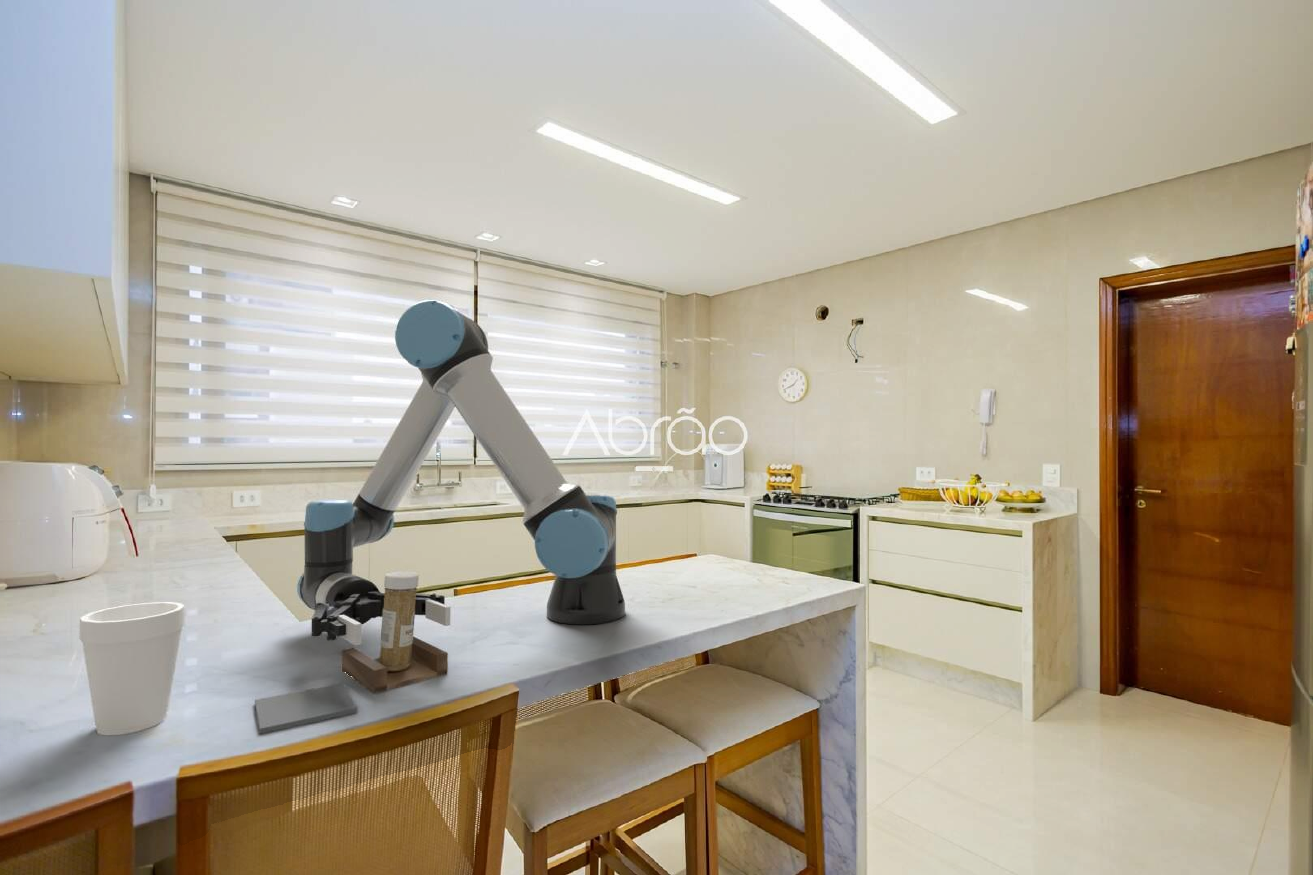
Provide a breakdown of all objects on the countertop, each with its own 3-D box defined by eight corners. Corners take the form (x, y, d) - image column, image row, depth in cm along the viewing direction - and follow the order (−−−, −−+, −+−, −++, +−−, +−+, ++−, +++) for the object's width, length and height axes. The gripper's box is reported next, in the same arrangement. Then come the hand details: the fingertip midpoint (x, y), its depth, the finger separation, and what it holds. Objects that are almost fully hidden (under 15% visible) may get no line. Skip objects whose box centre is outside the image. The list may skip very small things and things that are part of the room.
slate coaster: (342, 687, 85) (342, 682, 85) (356, 712, 76) (356, 707, 76) (254, 704, 79) (255, 699, 79) (260, 733, 71) (260, 728, 71)
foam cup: (70, 749, 67) (73, 627, 67) (83, 719, 74) (86, 609, 75) (182, 726, 73) (184, 613, 73) (184, 700, 80) (185, 598, 80)
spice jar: (414, 670, 89) (421, 575, 90) (379, 674, 87) (387, 576, 88) (408, 660, 93) (415, 569, 94) (375, 663, 91) (382, 570, 91)
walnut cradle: (410, 654, 98) (411, 635, 98) (447, 673, 90) (447, 652, 90) (341, 670, 91) (341, 650, 91) (374, 693, 82) (374, 670, 82)
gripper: (420, 608, 112) (483, 633, 96) (263, 637, 94) (310, 673, 79) (420, 566, 112) (483, 584, 97) (264, 587, 95) (311, 613, 79)
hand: (405, 624), depth 88 cm, fingers open, 12 cm apart
